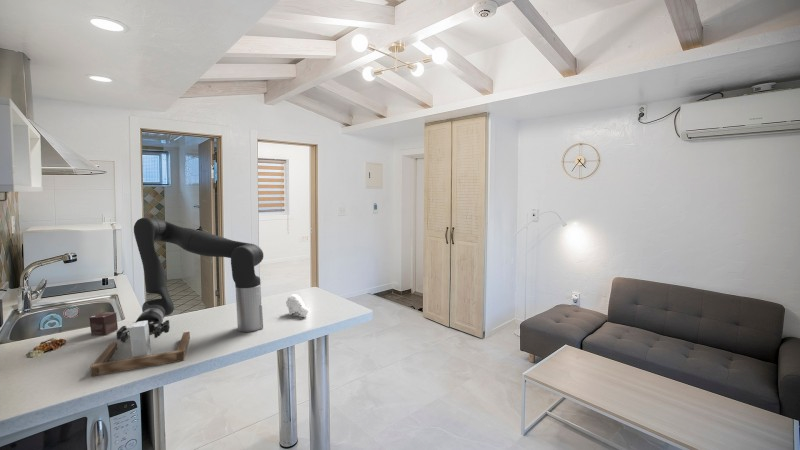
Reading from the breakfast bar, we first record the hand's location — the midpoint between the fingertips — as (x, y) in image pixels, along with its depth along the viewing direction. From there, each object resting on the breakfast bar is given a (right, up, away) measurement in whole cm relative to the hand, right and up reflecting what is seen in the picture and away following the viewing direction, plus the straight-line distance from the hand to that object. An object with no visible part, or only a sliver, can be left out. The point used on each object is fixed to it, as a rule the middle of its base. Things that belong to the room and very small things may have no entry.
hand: (139, 337), depth 119 cm
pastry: (-41, -9, +12) cm, 44 cm away
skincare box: (-1, -8, +3) cm, 9 cm away
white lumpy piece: (+39, -4, +45) cm, 59 cm away
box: (-32, -7, +27) cm, 43 cm away
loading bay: (-2, -8, +7) cm, 11 cm away
